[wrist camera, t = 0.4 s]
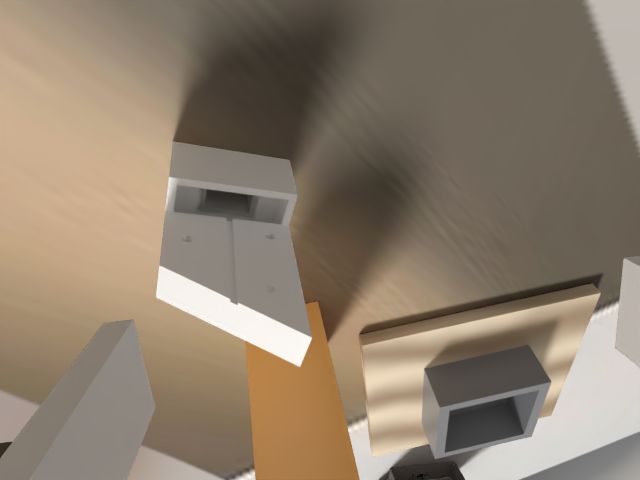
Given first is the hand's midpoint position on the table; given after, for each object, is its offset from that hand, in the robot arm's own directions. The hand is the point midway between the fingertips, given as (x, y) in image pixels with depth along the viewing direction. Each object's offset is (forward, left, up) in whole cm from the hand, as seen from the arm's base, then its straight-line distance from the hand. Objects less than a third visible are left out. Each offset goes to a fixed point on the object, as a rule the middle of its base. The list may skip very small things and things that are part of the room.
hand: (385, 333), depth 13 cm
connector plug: (+16, -4, -14) cm, 21 cm away
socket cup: (+27, +10, -12) cm, 32 cm away
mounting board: (+27, +10, -14) cm, 32 cm away
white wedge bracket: (+3, -5, -14) cm, 15 cm away
